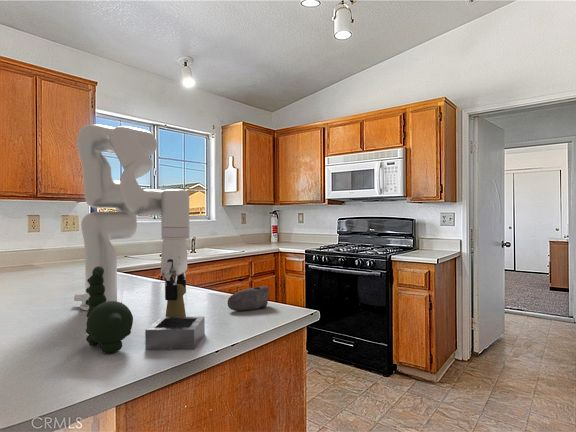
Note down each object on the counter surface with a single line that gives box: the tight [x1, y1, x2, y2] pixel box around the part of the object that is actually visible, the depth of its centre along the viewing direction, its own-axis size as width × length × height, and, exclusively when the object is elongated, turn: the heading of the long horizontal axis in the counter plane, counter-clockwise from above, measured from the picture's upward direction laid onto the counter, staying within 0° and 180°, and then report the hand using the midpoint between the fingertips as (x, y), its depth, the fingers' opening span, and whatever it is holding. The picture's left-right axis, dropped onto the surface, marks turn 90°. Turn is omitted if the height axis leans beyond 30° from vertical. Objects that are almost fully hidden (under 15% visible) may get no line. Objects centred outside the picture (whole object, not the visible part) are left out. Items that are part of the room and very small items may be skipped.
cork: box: [164, 284, 187, 317], centre depth 107 cm, size 6×6×11 cm
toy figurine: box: [85, 266, 134, 355], centre depth 90 cm, size 9×19×25 cm
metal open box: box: [144, 316, 206, 351], centre depth 92 cm, size 11×11×4 cm
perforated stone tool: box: [227, 285, 270, 312], centre depth 123 cm, size 15×5×7 cm, turn 118°
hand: (175, 296), depth 107 cm, fingers open, 7 cm apart
